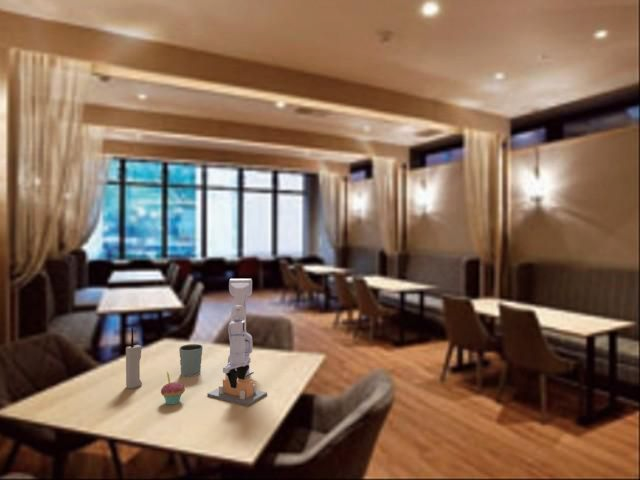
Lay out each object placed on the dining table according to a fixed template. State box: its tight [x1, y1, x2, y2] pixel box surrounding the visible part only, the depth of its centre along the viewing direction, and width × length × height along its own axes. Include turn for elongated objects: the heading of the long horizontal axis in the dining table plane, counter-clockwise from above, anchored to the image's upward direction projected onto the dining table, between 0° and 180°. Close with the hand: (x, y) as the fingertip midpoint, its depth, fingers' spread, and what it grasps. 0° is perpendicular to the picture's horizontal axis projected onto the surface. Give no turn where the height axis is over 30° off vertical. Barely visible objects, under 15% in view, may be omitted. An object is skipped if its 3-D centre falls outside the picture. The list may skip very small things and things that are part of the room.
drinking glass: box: [178, 343, 204, 377], centre depth 184 cm, size 10×10×12 cm
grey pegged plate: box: [206, 383, 268, 407], centre depth 159 cm, size 20×12×4 cm, turn 62°
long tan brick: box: [222, 373, 254, 398], centre depth 159 cm, size 12×4×7 cm, turn 62°
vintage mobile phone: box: [125, 326, 143, 390], centre depth 168 cm, size 4×5×25 cm
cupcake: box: [160, 371, 186, 405], centre depth 153 cm, size 9×8×12 cm
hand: (237, 385), depth 159 cm, fingers closed on long tan brick, 4 cm apart
